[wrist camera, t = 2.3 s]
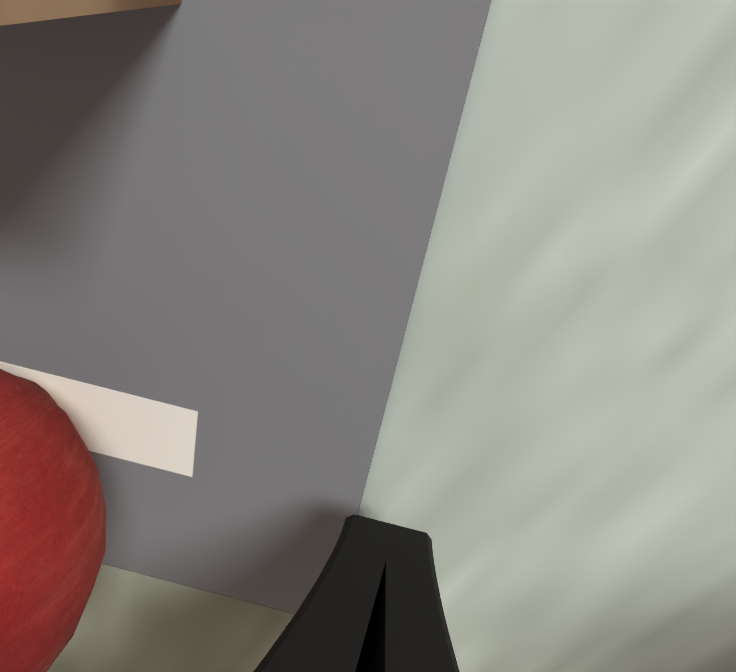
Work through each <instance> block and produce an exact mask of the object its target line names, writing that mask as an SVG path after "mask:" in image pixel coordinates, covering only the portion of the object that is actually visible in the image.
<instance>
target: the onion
mask: <svg viewBox="0 0 736 672" xmlns="http://www.w3.org/2000/svg"><path fill="white" fill-rule="evenodd" d="M105 547H106V506H105V502H104V497H103V492H102V487H101V482H100V478H99V473H98V468H97V466H96V464H95V462H94V460H93V458H92V456H91V454H90V452H89V450H88V448H87V446H86V445H85V443H84V441H83V440H82V438H81V436H80V435H79V433H78V431H77V430H76V428H75V426H74V425H73V423H72V421H71V420H70V418H69V416H68V415H67V413H66V412H65V411H64V410H63V409H61V408H60V407H59V406H58V405H57V403H56V402H55V400H54V399H53V398H52V397H51V396H50V395H49V393H48V392H47V391H46V390H45V389H43V388H42V387H41V386H40V385H39V384H37V383H35V382H33V381H31V380H28V379H25V378H22V377H19V376H15V375H13V374H11V373H9V372H6V371H4V370H2V369H0V672H47V670H48V669H49V668H50V666H51V665H52V663H53V662H54V661H55V659H56V658H57V657H58V655H59V654H60V653H61V651H62V650H63V649H64V647H65V646H66V645H67V643H68V642H69V640H70V639H71V638H72V636H73V635H74V632H75V630H76V627H77V625H78V623H79V620H80V618H81V615H82V613H83V611H84V608H85V606H86V603H87V601H88V599H89V596H90V594H91V591H92V589H93V587H94V584H95V581H96V578H97V575H98V572H99V569H100V566H101V563H102V560H103V557H104V554H105Z"/></svg>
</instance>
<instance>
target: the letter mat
mask: <svg viewBox="0 0 736 672" xmlns="http://www.w3.org/2000/svg"><path fill="white" fill-rule="evenodd" d="M490 3H491V0H182V3H181V4H175V5H166V6H158V7H150V8H142V9H134V10H125V11H117V12H109V13H101V14H93V15H84V16H76V17H68V18H60V19H51V20H43V21H35V22H27V23H19V24H10V25H2V26H0V369H2V370H4V371H6V372H9V373H11V374H13V375H15V376H19V377H22V378H25V379H28V380H31V381H33V382H35V383H37V384H39V385H40V386H41V387H42V388H43V389H45V390H46V391H47V392H48V393H49V395H50V396H51V397H52V398H53V399H54V400H55V402H56V403H57V405H58V406H59V407H60V408H61V409H63V410H64V411H65V412H66V413H67V415H68V416H69V418H70V420H71V421H72V423H73V425H74V426H75V428H76V430H77V431H78V433H79V435H80V436H81V438H82V440H83V441H84V443H85V445H86V446H87V448H88V450H89V452H90V454H91V456H92V458H93V460H94V462H95V464H96V466H97V468H98V473H99V478H100V482H101V487H102V492H103V497H104V502H105V506H106V547H105V554H104V557H103V560H102V563H101V564H105V565H109V566H113V567H117V568H120V569H124V570H128V571H132V572H136V573H140V574H143V575H147V576H151V577H155V578H159V579H162V580H166V581H170V582H174V583H178V584H182V585H185V586H189V587H193V588H197V589H201V590H204V591H208V592H212V593H216V594H220V595H224V596H227V597H231V598H235V599H239V600H243V601H246V602H250V603H254V604H258V605H262V606H266V607H269V608H273V609H277V610H281V611H285V612H288V613H292V614H296V612H297V611H298V609H299V607H300V606H301V604H302V603H303V601H304V600H305V598H306V596H307V595H308V593H309V592H310V590H311V588H312V587H313V585H314V584H315V582H316V581H317V579H318V577H319V575H320V574H321V572H322V570H323V568H324V566H325V565H326V563H327V561H328V559H329V557H330V555H331V553H332V551H333V549H334V547H335V545H336V543H337V541H338V538H339V536H340V533H341V531H342V528H343V525H344V522H345V519H346V517H349V516H351V515H353V514H354V515H358V511H359V507H360V503H361V499H362V496H363V492H364V488H365V484H366V480H367V476H368V473H369V469H370V465H371V461H372V457H373V453H374V449H375V446H376V442H377V438H378V434H379V430H380V426H381V423H382V419H383V415H384V411H385V407H386V403H387V399H388V396H389V392H390V388H391V384H392V380H393V376H394V373H395V369H396V365H397V361H398V357H399V353H400V349H401V346H402V342H403V338H404V334H405V330H406V326H407V323H408V319H409V315H410V311H411V307H412V303H413V299H414V296H415V292H416V288H417V284H418V280H419V276H420V273H421V269H422V265H423V261H424V257H425V253H426V249H427V246H428V242H429V238H430V234H431V230H432V226H433V223H434V219H435V215H436V211H437V207H438V203H439V199H440V196H441V192H442V188H443V184H444V180H445V176H446V172H447V169H448V165H449V161H450V157H451V153H452V149H453V146H454V142H455V138H456V134H457V130H458V126H459V122H460V119H461V115H462V111H463V107H464V103H465V99H466V96H467V92H468V88H469V84H470V80H471V76H472V72H473V69H474V65H475V61H476V57H477V53H478V49H479V46H480V42H481V38H482V34H483V30H484V26H485V22H486V19H487V15H488V11H489V7H490Z"/></svg>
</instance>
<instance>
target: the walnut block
mask: <svg viewBox="0 0 736 672" xmlns="http://www.w3.org/2000/svg"><path fill="white" fill-rule="evenodd" d="M181 3H182V0H0V26H2V25H10V24H19V23H27V22H35V21H43V20H51V19H60V18H68V17H76V16H84V15H93V14H101V13H109V12H117V11H125V10H134V9H142V8H150V7H158V6H166V5H175V4H181Z"/></svg>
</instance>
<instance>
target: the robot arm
mask: <svg viewBox="0 0 736 672" xmlns="http://www.w3.org/2000/svg"><path fill="white" fill-rule="evenodd" d="M254 672H459V669H458V665H457V661H456V658H455V654H454V650H453V647H452V643H451V639H450V636H449V632H448V628H447V624H446V620H445V616H444V612H443V607H442V602H441V598H440V593H439V588H438V583H437V578H436V572H435V566H434V559H433V551H432V540H431V538H430V537H429V535H428V534H427V533H425V532H421V531H417V530H413V529H409V528H405V527H401V526H398V525H394V524H390V523H386V522H382V521H378V520H374V519H370V518H366V517H362V516H358V515H354V514H353V515H351V516H349V517H346V519H345V522H344V525H343V528H342V531H341V533H340V536H339V538H338V541H337V543H336V545H335V547H334V549H333V551H332V553H331V555H330V557H329V559H328V561H327V563H326V565H325V566H324V568H323V570H322V572H321V574H320V575H319V577H318V579H317V581H316V582H315V584H314V585H313V587H312V588H311V590H310V592H309V593H308V595H307V596H306V598H305V600H304V601H303V603H302V604H301V606H300V607H299V609H298V611H297V612H296V614H295V615H294V617H293V618H292V620H291V621H290V623H289V624H288V625H287V627H286V628H285V630H284V631H283V632H282V634H281V635H280V636H279V638H278V639H277V641H276V642H275V643H274V645H273V646H272V647H271V649H270V650H269V652H268V653H267V654H266V656H265V657H264V658H263V660H262V661H261V663H260V664H259V665H258V666H257V668H256V669H255V670H254Z"/></svg>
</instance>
